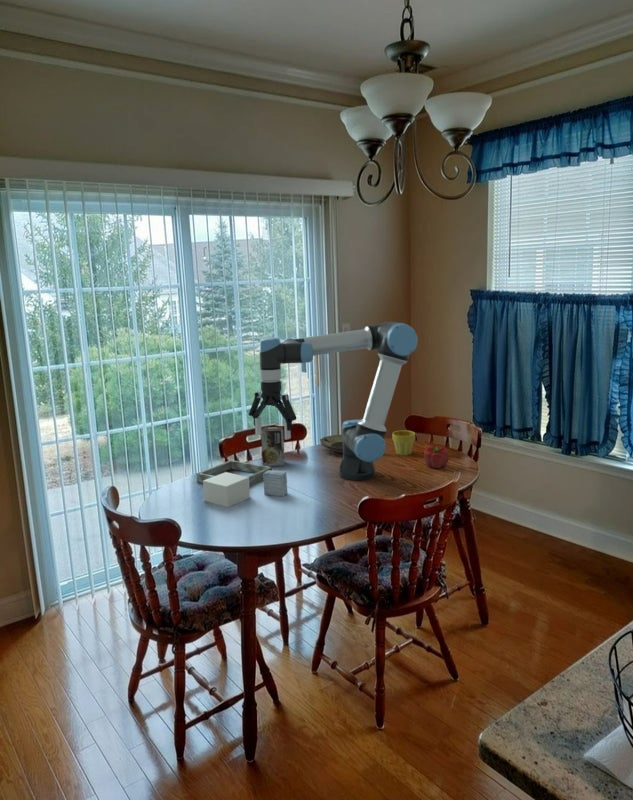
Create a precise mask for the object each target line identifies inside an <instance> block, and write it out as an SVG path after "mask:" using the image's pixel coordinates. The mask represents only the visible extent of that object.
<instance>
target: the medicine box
mask: <svg viewBox="0 0 633 800" xmlns="http://www.w3.org/2000/svg"><path fill="white" fill-rule="evenodd" d="M263 478H264V479H263V494H264V496H272V497H273V496H274V497H285V496H286V495H287V493H288V481H287V480H288V479H287V478H288V477H287V471H285V470H283V471H281V470H273V469H272V470H268V471H266V472H265V473H264V474H263Z"/></svg>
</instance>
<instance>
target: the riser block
mask: <svg viewBox="0 0 633 800" xmlns="http://www.w3.org/2000/svg"><path fill="white" fill-rule="evenodd" d="M202 485H203V487H202V488H203V489H202V491H203V500H204V502H207V503H211V504H215V505H219V506H222V507H226V508H228V507H231V506H233V505H235V504H238V503H240V502H242V501H245V500H247V499H250V498H251V493H250V491H251V490H250V486H249V477H248V476H244V475H241V474H236V473H231V472H228V471H225V472H223V473H221V474H218V475H216V476H214V477H212V478H209V479H206V480H204V481H203V483H202Z"/></svg>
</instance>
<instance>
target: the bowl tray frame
mask: <svg viewBox="0 0 633 800" xmlns="http://www.w3.org/2000/svg"><path fill="white" fill-rule="evenodd" d="M227 470H228V471H229V470H235V471H236V470H237V471H241V472H246V473H247V472H248V473H252V474H251V475H248V476H247V477H249V487H251V486H253V485H255V484H257V483H259V482H261V481H264V478H263V474H264V473H265V472H266V471H268V470H272V471H273V467H272V466H263V464H255V463H250V462H246V461H245V462H244V461H239V460H233V459H230V460H227V461H226V462H222V463H220V464H217V465H215V466H213V467H209V468H208V469H204V470H202V471H200V472H196V482H197V483H201V484H203V481H204V480H206V479H209V478H212V477H214V476H217V475H220V474H222V473H225V472H228V471H227Z"/></svg>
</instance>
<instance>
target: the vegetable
mask: <svg viewBox="0 0 633 800" xmlns="http://www.w3.org/2000/svg"><path fill="white" fill-rule="evenodd" d="M423 457H424V462H425V464H426V466H427V467H428V468H433V469H435V468H438V469H440V468H445V467H446V466H447V465H448V462H449V459H450V453H449V450H448V449H447V447H445V446H440V445H435V444H433V445H431V446H429V447H426V448H425V449H424V451H423ZM444 466H445V467H444Z"/></svg>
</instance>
